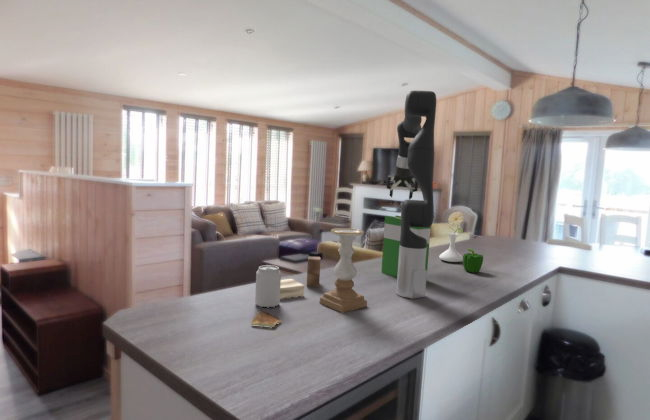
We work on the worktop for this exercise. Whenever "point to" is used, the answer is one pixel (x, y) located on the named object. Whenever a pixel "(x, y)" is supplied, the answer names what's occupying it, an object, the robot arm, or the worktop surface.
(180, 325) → the worktop surface
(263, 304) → the can
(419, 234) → the green and white box
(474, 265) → the bell pepper
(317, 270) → the walnut pillar
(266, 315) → the sandwich
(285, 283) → the birch block
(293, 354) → the worktop surface
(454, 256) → the flower in vase
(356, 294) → the candle holder
